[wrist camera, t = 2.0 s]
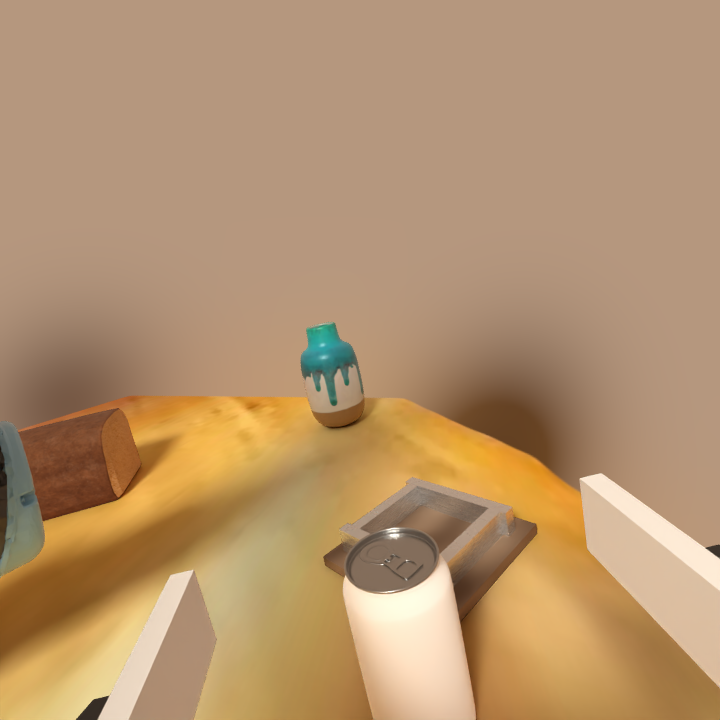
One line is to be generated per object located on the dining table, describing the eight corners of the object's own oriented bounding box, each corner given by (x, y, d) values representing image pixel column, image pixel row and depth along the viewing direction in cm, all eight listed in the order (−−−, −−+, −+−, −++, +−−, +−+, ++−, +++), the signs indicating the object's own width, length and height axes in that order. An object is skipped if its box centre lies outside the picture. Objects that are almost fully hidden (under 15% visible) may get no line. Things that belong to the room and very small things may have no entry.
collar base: (325, 565, 45) (323, 556, 44) (419, 494, 54) (417, 486, 54) (445, 639, 34) (443, 628, 33) (537, 532, 43) (536, 523, 43)
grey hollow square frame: (344, 550, 45) (339, 529, 44) (416, 496, 52) (412, 477, 51) (444, 605, 35) (439, 579, 35) (515, 529, 43) (512, 506, 42)
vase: (350, 436, 77) (327, 329, 73) (303, 434, 83) (279, 334, 79) (379, 412, 86) (359, 316, 81) (335, 412, 91) (314, 322, 87)
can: (419, 655, 33) (388, 511, 30) (497, 709, 28) (469, 544, 25) (355, 726, 29) (314, 567, 26) (434, 804, 24) (393, 618, 21)
